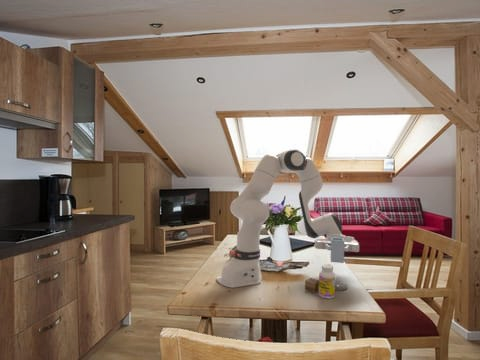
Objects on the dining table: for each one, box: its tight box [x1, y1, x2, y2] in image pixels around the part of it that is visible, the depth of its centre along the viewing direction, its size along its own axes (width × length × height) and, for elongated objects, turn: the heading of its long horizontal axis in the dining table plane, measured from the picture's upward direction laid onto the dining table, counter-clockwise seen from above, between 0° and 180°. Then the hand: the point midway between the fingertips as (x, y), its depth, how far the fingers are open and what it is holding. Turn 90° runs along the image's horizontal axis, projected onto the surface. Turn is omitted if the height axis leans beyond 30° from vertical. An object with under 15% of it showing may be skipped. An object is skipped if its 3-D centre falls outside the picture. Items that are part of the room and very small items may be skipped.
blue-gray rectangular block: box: [329, 238, 345, 264], centre depth 139 cm, size 6×6×10 cm
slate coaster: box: [335, 280, 349, 292], centre depth 140 cm, size 10×10×1 cm
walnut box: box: [304, 277, 319, 293], centre depth 136 cm, size 5×5×4 cm
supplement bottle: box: [318, 264, 336, 300], centre depth 129 cm, size 7×7×13 cm
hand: (337, 249), depth 138 cm, fingers closed on blue-gray rectangular block, 6 cm apart
